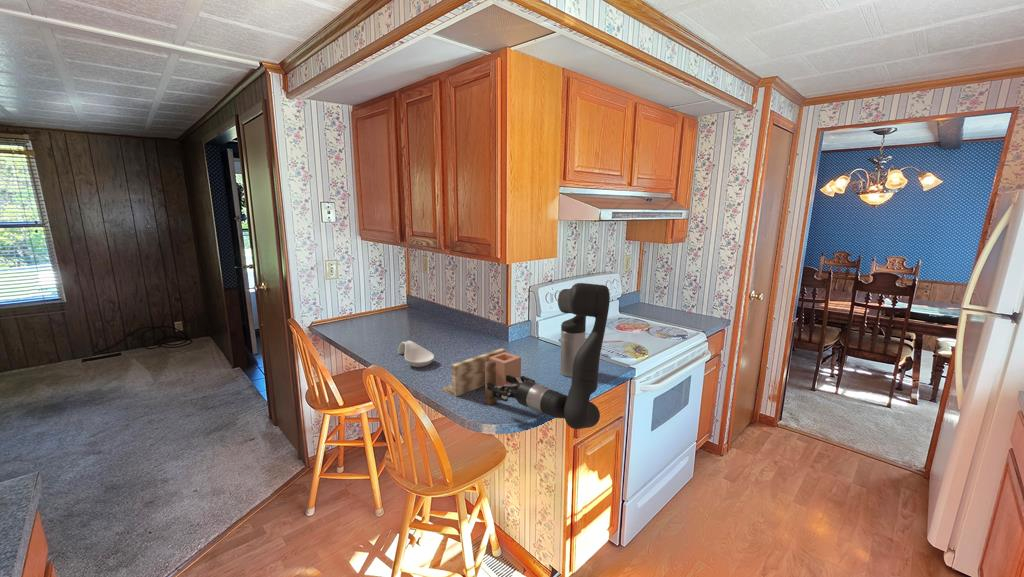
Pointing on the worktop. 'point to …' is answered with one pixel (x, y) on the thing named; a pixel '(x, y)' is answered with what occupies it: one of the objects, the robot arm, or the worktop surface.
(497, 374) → the socket block
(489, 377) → the dowel
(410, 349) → the spoon rest
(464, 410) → the worktop surface
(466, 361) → the backstop wall
